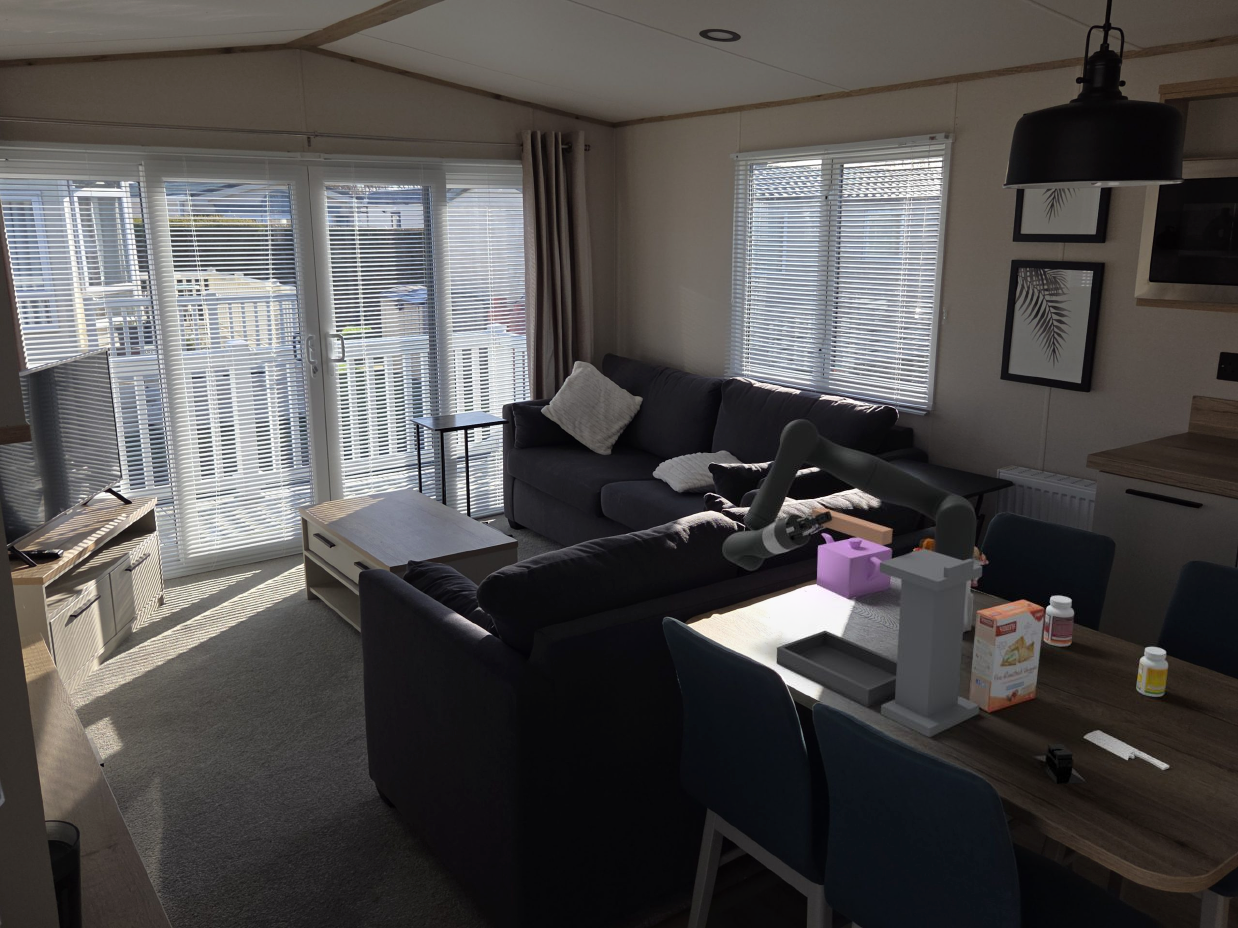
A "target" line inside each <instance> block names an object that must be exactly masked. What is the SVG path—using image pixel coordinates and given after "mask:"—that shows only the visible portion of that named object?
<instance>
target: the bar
mask: <svg viewBox="0 0 1238 928" xmlns="http://www.w3.org/2000/svg"><path fill="white" fill-rule="evenodd" d="M826 511H830V513H831V517H832V520H831V521H829V522H827V523H824V524H822V525H821V526H824V527H826V528H828V529H831V530H834V531H837V532H840V533H843V534H846V535H849V536H852V537H854V538H857V537H858V538H861V539H864V540H867V541H870V542H873V543H876V544H879V545H882V546H885V545H889V544H892V541H893V528H890V527H887V526H884V525H880V524H877V523H875V522H874V523H873V522H870V521H867V520H864V519H861V518H858V517H855V516H851V515H847V514H845V513H843V512H842V513H843V514H842V513H838V512H835V511H833V510H831V509H829V508H825V507H823V506H822V507H817V508H813V509H812V510H811V516H813V515H816V516H817V515H819V514H821V513H824V512H826Z"/></svg>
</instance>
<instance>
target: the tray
mask: <svg viewBox="0 0 1238 928" xmlns="http://www.w3.org/2000/svg"><path fill="white" fill-rule="evenodd" d="M776 664H777V665H779V666H781V667H783V668H785V669H787V670H790V671H791V672H793V673H796V674H798V675H800V676H801V677H804V678H806V679H808V680H810V681H812V682H814V683H816V684H818V685H820V686H822V687H825V688H827V689H828V690H830V691H833V692H834V693H836V694H839V695H840V696H843V697H845V698H846V699H849V700H851V701H853V702H855V703H857V704H859V705H862V706H863V707H866V708H870V707H873V706H875V705H877V704H879V703H880V704H881V703H882V702H884V701H887V700H889V699H891V698H893V697H894V698H895V691H896V672H897V659H894V658H891V657H888V656H886V655H884V654H882V653H880V652H877V651H874V650H872V649H870V648H868V647H865V646H863V645H860V644H857V643H856V642H853V641H851V640H848V639H846V638H844V637H842V636H839V635H838V634H837V635H836V634H835V633H832V632H830V631H827V630H823V631H820V632H818V633H814V634H811V635H808V636H805V637H802V638H800V639H796V640H794V641H792V642H788V643H786V644H783V645H781V646H777V647H776Z"/></svg>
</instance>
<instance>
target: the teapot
mask: <svg viewBox="0 0 1238 928" xmlns="http://www.w3.org/2000/svg"><path fill="white" fill-rule="evenodd" d="M821 536H822V537H823V538H824V539H825V541H826V543H824V544H820V545H817V546H818V547H817V566H816V567H817V568H816V570H817V571H816V572H817V573H816V574H817V576H816V586H819V587H820V588H823V589H825V590H827V591H830V592H832V593H834V594H836V595H838V596H841V597H843V598H844V599H847V600H852V599H855V598H859V597H863V596H867V595H871V594H874V593H875V594H876V593H879V592H882V591H887V590H890V589H891V577H892V576H890V575H887V574H884V573H881V572H879V571H880V562H883V561H886V560H890V559H893V558H892V555H893V549H892V548H890V547H887V546H885V545H879V544H876V543H873V542H870V541H867V540H864V539H861V538H858V537H851V538H850V537H849V539H843V540H839V541H835V540H834V539H833V537H832V536H831V535H830V534H828V533H824V532H823V533H821Z"/></svg>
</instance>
